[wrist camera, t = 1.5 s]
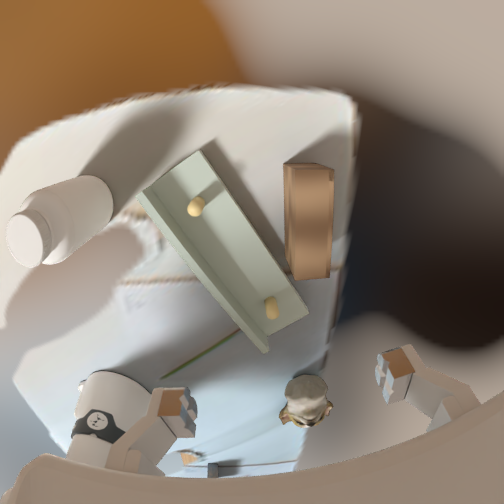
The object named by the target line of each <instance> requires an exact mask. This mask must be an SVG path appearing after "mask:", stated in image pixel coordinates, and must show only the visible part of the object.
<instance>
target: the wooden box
mask: <svg viewBox="0 0 504 504" xmlns="http://www.w3.org/2000/svg"><path fill="white" fill-rule="evenodd" d="M283 171H284V220H285V257H286V260H287V262H288V265H289V267H290V270H291V272H292V275H293V277H294V280H295V281H298V280H309V279H321V278H330V264H331V249H332V231H333V205H334V169H331V168H328V167H325V166H322V165H319V164H316V163H289V164H283Z"/></svg>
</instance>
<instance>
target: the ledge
mask: <svg viewBox="0 0 504 504" xmlns="http://www.w3.org/2000/svg"><path fill="white" fill-rule="evenodd" d="M135 197H136V199H137V200H138V201H139V203H140V204H141V205H142V207H143V208H144V209H145V211H146V212H147V213H148V215H149V216H150V218H151V219H152V220H153V222H154V223H155V224H156V225H157V227H158V228H159V229H160V231H161V232H162V233H163V235H164V236H165V237H166V239H167V240H168V241H169V242H170V244H171V245H172V246H173V248H174V249H175V250H176V251H177V253H178V254H179V255H180V257H181V258H182V259H183V260H184V262H185V263H186V264H187V265H188V267H189V268H190V269H191V270H192V272H193V273H194V274H195V275H196V276H197V278H198V279H199V280H200V281H201V283H202V284H203V285H204V286H205V287H206V289H207V290H208V291H209V292H210V294H211V295H212V296H213V297H214V298H215V300H216V301H217V302H218V303H219V304H220V305H221V307H222V308H223V309H224V310H225V311H226V313H227V314H228V315H229V316H230V317H231V318H232V320H233V321H234V322H235V323H236V324H237V325H238V326H239V328H240V329H241V330H242V331H243V332H244V333H245V334H246V336H247V337H248V338H249V339H250V340H251V341H252V342H253V343H254V345H255V346H256V347H257V348H258V349H259V350H260V351H261V352H262V353H263V354H265V353H267V352H269V345H268V339H267V337H268V336H270V335H272V334H273V333H275V332H277V331H279V330H281V329H283V328H285V327H286V326H288V325H290V324H292V323H294V322H295V321H297V320H299V319H301V318H302V317H304V316H306V315H308V314H310V313H309V311H308V308H307V306H306V304H305V303H304V301H303V300H302V298H301V297H300V295H299V294H298V292H297V291H296V289H295V288H294V286H293V285H292V283H291V282H290V280H289V279H288V277H287V276H286V274H285V273H284V271H283V270H282V268H281V267H280V265H279V264H278V262H277V261H276V259H275V258H274V256H273V255H272V253H271V252H270V250H269V249H268V247H267V246H266V244H265V243H264V241H263V240H262V238H261V237H260V236H259V234H258V233H257V231H256V230H255V228H254V227H253V225H252V224H251V222H250V221H249V219H248V218H247V216H246V215H245V213H244V212H243V210H242V209H241V208H240V206H239V205H238V203H237V202H236V200H235V199H234V197H233V196H232V194H231V193H230V192H229V190H228V189H227V187H226V186H225V184H224V183H223V181H222V180H221V178H220V177H219V176H218V174H217V173H216V171H215V170H214V168H213V167H212V165H211V164H210V163H209V161H208V160H207V158H206V157H205V155H204V154H203V153H202V151H201V150H198V151H197V152H195V153H194V154H192V155H191V156H190V157H188V158H187V159H185V160H184V161H183V162H181V163H180V164H178V165H177V166H176V167H174V168H173V169H172V170H170V171H169V172H168V173H166V174H165V175H164V176H162V177H161V178H160V179H158V180H157V181H156V182H154V183H153V184H152V185H151V186H149V187H148V188H146V189H144V190H143V191H141V192H140V193H139V194H138V195H136V196H135Z"/></svg>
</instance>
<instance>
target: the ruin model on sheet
mask: <svg viewBox="0 0 504 504" xmlns="http://www.w3.org/2000/svg"><path fill="white" fill-rule="evenodd" d="M180 454H181V457H182V461H183V464H184V466H185V465H186V464H189V463H191V462H194V461H196V460H197V458H196V457H194V456H192V455H189V454H185V453H180ZM208 478H218V464H210V463H208Z"/></svg>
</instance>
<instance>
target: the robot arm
mask: <svg viewBox="0 0 504 504" xmlns="http://www.w3.org/2000/svg"><path fill="white" fill-rule="evenodd" d="M377 361H378V365H377V366H376V370H375V374H376V379H377V383H378V385H379V386H380V387H382V388H383V393H382V394H383V396H384V398H385V401H386V403H387V404H391V403H394V402H397V401H400V400H403V399H405V401H407V402H408V403H410V404H411V405H413V406H414V407H415V408H417V409H418V410H420V411H421V412H423V413H424V414H426V415H427V416H428V417H430V418H431V419H432V421H431V423H430V424H429V426H428V428H427V430H426V431H427V433H425V434H423V435H420V436H418V437H416V438H413V439H410V440H408V441H405V442H403V443H400V444H397V445H395V446H392V447H389V448H386V449H383V450H380V451H377V452H374V453H371V454H367V455H364V456H361V457H357V458H353V459H350V460H346V461H342V462H338V463H334V464H329V465H326V466H320V467H316V468H310V469H305V470H299V471H293V472H286V473H279V474H270V475H261V476H249V477H233V478H182V477H166V476H165V474H164V473H163V472H162V471H161V470H160V469H159V468H158V467H157V466H156V465H157V464H158V463H159V462H160V460H161V459H162V457H163V456H164V455H165V454H166V453H167V451H168V450H169V449H170V447H171V446H172V445H173V443H174V442H175V441H176V440H177V438H192V437H195V430H196V424H195V423H194V420H195V419H196V418H197V404H196V401H195V399H194V398H193V397H191V396H190V390H189V389H188V387H175V388H154V390H153V391H152V395H151V394H150V393H149V392H148V391H147V390H146V389H145V388H143V387H142V386H141V385H140V384H138V383H137V382H135V381H133V380H132V379H130V378H128V377H125V376H123V375H120V374H117V373H113V372H106V371H100V372H95V373H93V374H91V375H90V376H89V377H88V379H87V380H86V381H83V382H80V383H79V385H78V389H79V391H80V392H81V393H80V396H79V399H78V402H77V405H76V408H75V412H74V416H75V417H76V419H77V421H76V423H75V426H74V427H73V430H72V435H71V438H72V441H71V444H70V447H69V450H68V452H67V455H66V458H61V457H58V456H55V455H52V454H48V453H44V454H42V455H40V456H38V457H37V458H35V459H34V460H32V461H31V462H30V463H28V464H27V465H26V466H24V467H23V468H22V470H21V471H20V473H19V475H18V477H17V479H16V481H15V483H14V486H13V488H10V489H8V490H7V491H6V492H5V493H4V494H3V496H2V497H1V500H0V504H504V391H502V392H501V393H499V394H497V395H496V396H494V397H493V398H492V399H490V400H488V401H487V402H485V403H483V404H480V402H479V400H478V399H477V398H476V396H475V394H474V393H473V391H472V390H471V388H470V386H469V385H467V384H465V383H462V382H460V381H458V380H456V379H454V378H451V377H449V376H447V375H445V374H443V373H441V372H439V371H436V370H434V369H432V368H430V367H428V368H426V367H425V365H424V363H423V362H422V360H421V359H420V357H419V356H418V354H417V353H416V351H415V350H414V348H413V347H412V345H411V344H407V345H404V346H402V347H398V348H395V349H391V350H388V351H385V352H382V353H379V354H378V356H377Z"/></svg>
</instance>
